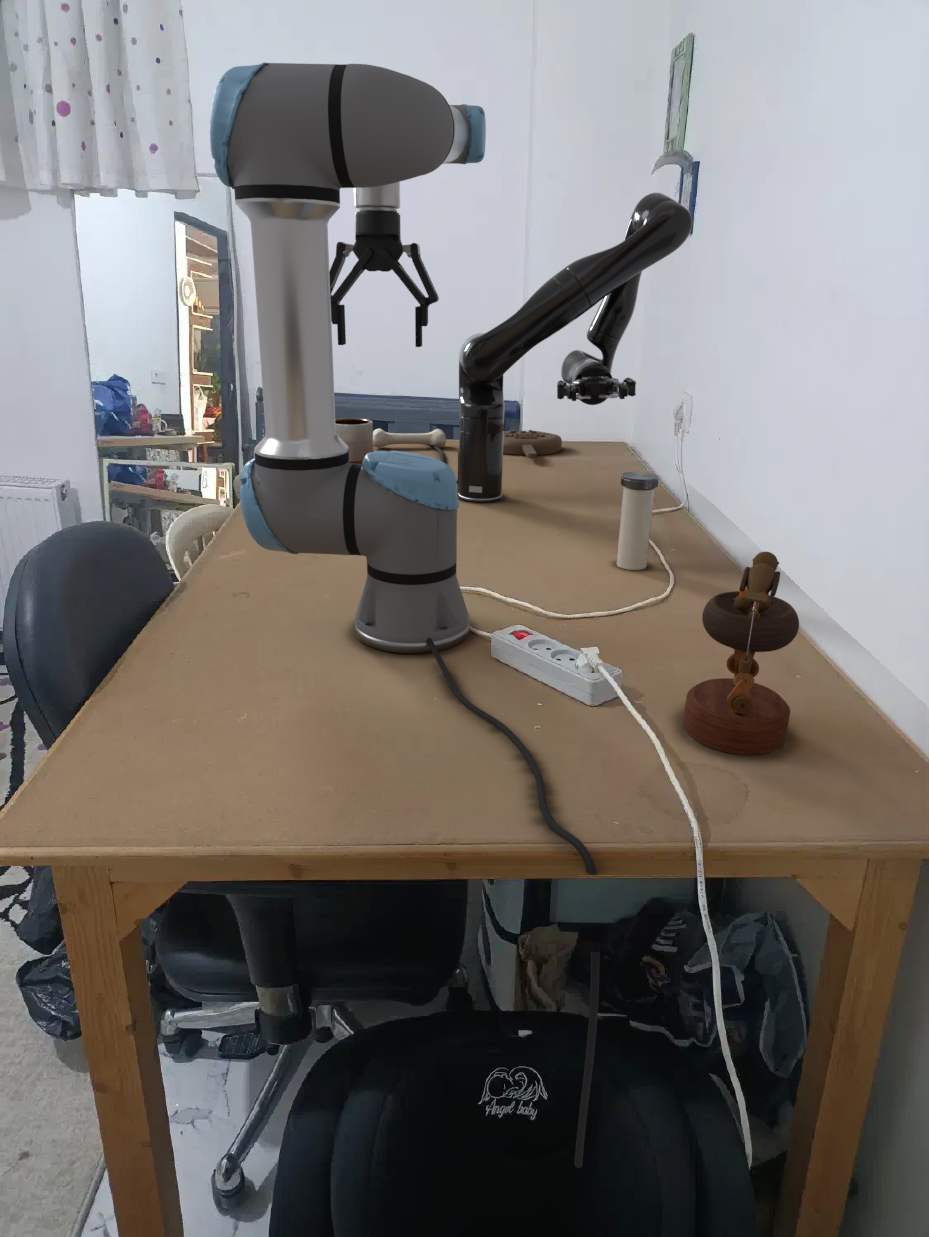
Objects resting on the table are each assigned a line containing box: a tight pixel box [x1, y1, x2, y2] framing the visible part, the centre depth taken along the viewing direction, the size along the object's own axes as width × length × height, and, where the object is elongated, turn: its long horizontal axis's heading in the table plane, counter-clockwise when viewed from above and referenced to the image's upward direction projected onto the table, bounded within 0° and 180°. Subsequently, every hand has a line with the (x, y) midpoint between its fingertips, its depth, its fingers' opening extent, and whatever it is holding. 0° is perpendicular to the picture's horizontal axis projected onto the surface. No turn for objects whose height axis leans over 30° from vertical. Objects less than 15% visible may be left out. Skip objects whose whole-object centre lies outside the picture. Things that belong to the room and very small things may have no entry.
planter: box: [335, 417, 375, 464], centre depth 212 cm, size 11×11×10 cm
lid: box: [620, 471, 659, 490], centre depth 135 cm, size 6×6×2 cm
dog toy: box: [373, 428, 447, 449], centre depth 229 cm, size 20×6×5 cm, turn 99°
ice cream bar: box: [503, 429, 563, 459], centre depth 225 cm, size 21×28×4 cm
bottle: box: [616, 486, 656, 571], centre depth 137 cm, size 5×5×15 cm
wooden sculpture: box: [682, 551, 800, 755], centre depth 87 cm, size 15×11×20 cm
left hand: (380, 345), depth 147 cm, fingers open, 13 cm apart
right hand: (598, 394), depth 150 cm, fingers open, 8 cm apart
